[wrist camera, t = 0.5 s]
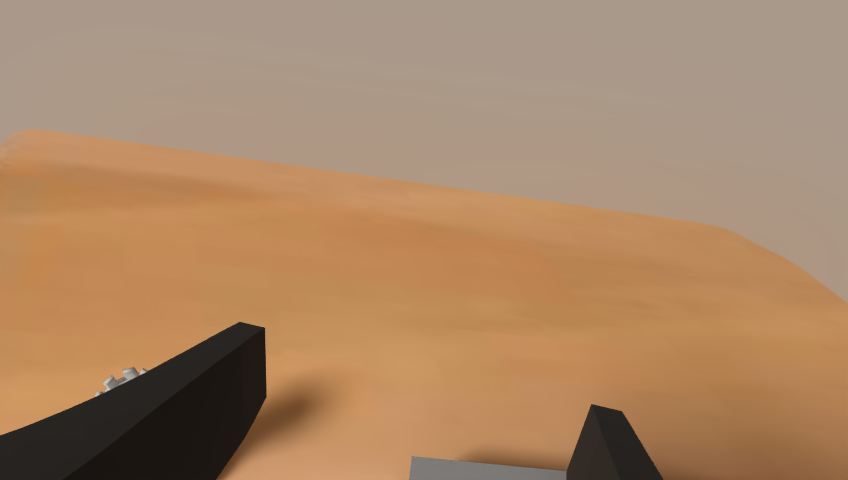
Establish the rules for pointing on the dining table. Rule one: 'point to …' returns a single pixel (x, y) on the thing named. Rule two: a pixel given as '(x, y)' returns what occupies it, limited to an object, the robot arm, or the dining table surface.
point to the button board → (476, 471)
